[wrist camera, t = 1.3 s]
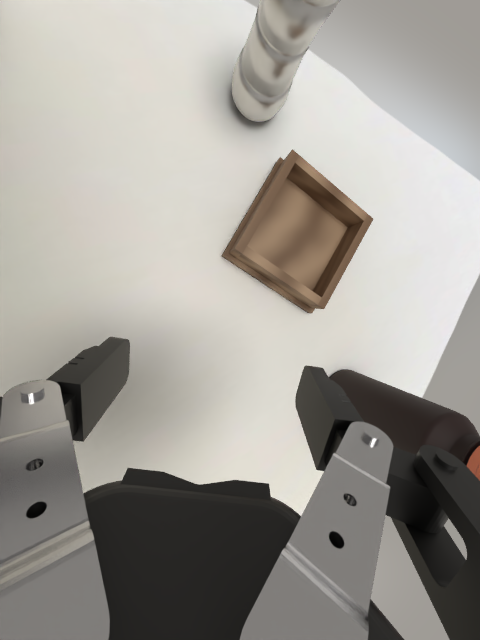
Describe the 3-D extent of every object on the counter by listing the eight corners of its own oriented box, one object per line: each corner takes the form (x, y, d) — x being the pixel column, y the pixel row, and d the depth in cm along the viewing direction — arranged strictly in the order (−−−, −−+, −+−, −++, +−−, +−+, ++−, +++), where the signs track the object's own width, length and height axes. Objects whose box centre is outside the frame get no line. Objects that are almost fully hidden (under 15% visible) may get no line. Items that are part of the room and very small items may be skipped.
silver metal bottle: (287, 98, 32) (464, -207, 13) (261, 142, 32) (402, -104, 12) (245, 58, 30) (375, -362, 11) (216, 105, 30) (299, -249, 11)
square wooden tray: (221, 255, 31) (228, 249, 27) (276, 161, 32) (291, 142, 28) (308, 312, 35) (325, 314, 31) (355, 226, 36) (378, 217, 32)
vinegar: (316, 409, 37) (477, 532, 17) (329, 364, 37) (505, 436, 17) (354, 417, 38) (538, 536, 19) (367, 374, 38) (564, 449, 19)
